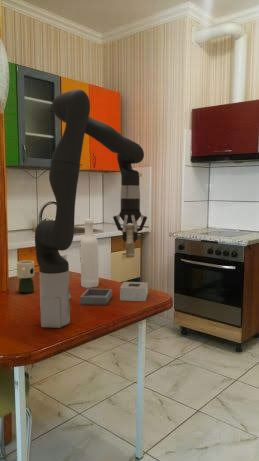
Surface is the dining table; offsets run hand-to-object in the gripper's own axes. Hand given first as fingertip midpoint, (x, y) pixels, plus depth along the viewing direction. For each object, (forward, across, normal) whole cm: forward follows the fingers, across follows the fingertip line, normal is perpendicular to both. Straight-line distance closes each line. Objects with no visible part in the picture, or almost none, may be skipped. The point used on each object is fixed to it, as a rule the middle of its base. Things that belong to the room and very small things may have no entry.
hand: (130, 241), depth 147 cm
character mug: (+23, -45, +3) cm, 50 cm away
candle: (+23, -32, +11) cm, 41 cm away
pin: (+6, 0, 0) cm, 6 cm away
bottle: (+23, -20, +17) cm, 35 cm away
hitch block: (+23, +2, +1) cm, 23 cm away
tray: (+23, -12, -5) cm, 26 cm away
